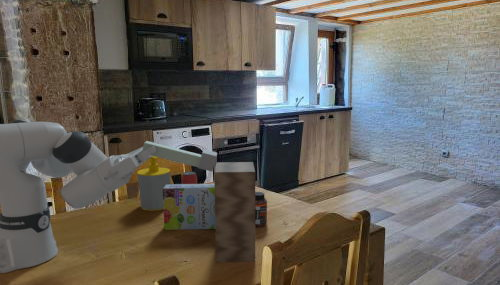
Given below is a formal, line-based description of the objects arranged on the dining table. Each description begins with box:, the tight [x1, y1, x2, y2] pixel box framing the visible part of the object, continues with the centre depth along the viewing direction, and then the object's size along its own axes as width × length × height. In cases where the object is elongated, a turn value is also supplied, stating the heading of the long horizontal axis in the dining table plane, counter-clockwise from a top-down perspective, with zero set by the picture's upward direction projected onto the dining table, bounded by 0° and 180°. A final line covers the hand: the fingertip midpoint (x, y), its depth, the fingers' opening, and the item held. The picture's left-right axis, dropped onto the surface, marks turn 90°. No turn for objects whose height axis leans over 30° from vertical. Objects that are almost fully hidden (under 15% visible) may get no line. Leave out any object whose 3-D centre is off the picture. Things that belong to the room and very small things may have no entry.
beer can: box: [180, 170, 198, 184], centre depth 153 cm, size 7×7×12 cm
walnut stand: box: [213, 161, 256, 263], centre depth 104 cm, size 11×12×26 cm
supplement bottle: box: [255, 191, 268, 228], centre depth 127 cm, size 6×6×11 cm
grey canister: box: [136, 156, 171, 212], centre depth 145 cm, size 13×13×21 cm
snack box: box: [163, 183, 215, 231], centre depth 124 cm, size 21×6×15 cm, turn 92°
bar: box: [142, 140, 218, 172], centre depth 100 cm, size 20×5×4 cm, turn 92°
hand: (157, 146), depth 100 cm, fingers closed on bar, 3 cm apart
